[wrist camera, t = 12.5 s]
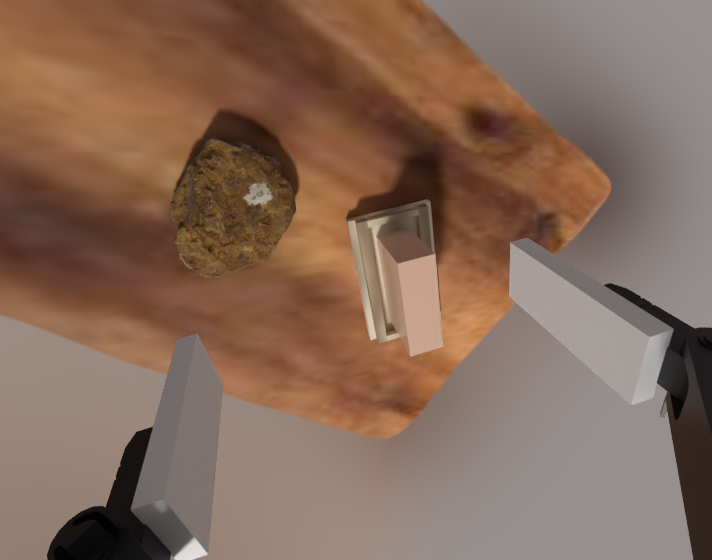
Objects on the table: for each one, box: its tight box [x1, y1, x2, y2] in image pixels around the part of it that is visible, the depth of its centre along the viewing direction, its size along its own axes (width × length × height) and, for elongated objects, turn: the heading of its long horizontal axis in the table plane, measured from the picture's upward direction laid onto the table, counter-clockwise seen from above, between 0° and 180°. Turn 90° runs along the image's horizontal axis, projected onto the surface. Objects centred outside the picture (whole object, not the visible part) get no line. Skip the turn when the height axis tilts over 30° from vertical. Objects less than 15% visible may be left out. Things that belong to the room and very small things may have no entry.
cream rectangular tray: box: [346, 199, 435, 343], centre depth 48 cm, size 10×17×2 cm, turn 10°
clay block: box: [376, 228, 443, 356], centre depth 45 cm, size 12×4×8 cm, turn 10°
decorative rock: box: [170, 137, 297, 278], centre depth 40 cm, size 11×4×15 cm
